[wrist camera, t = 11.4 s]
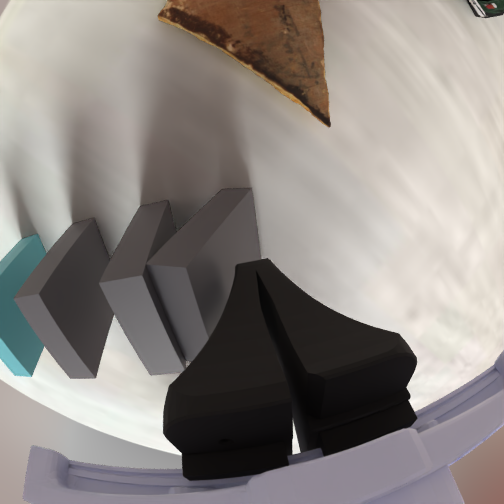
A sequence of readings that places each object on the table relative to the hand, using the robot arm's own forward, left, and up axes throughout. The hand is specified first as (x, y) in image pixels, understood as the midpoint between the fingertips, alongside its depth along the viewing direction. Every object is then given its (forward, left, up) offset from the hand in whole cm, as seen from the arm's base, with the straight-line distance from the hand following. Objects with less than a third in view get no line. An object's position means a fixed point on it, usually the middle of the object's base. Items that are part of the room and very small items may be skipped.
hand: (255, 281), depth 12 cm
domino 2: (0, +9, -5) cm, 10 cm away
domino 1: (0, +13, -5) cm, 14 cm away
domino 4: (0, 0, -5) cm, 5 cm away
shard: (+12, -3, -6) cm, 14 cm away
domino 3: (0, +4, -5) cm, 7 cm away
